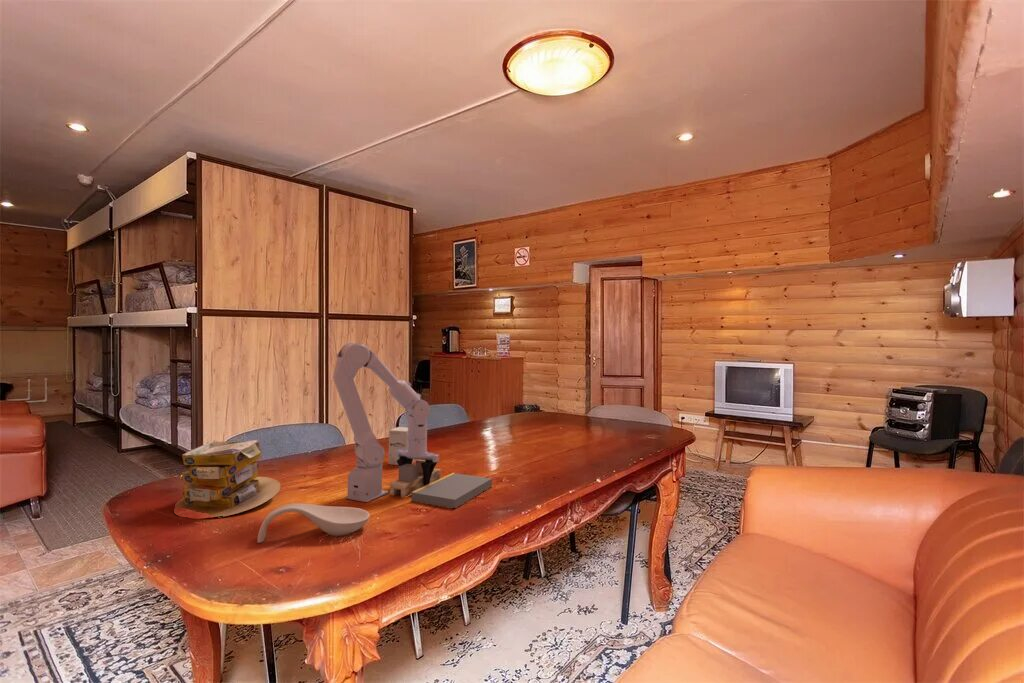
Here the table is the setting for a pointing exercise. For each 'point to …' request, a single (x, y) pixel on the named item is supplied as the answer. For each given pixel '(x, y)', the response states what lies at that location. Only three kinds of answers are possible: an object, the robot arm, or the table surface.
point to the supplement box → (397, 443)
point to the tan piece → (412, 484)
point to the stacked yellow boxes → (225, 479)
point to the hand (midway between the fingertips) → (416, 483)
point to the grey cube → (408, 472)
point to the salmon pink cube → (418, 462)
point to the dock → (451, 490)
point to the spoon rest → (322, 518)
